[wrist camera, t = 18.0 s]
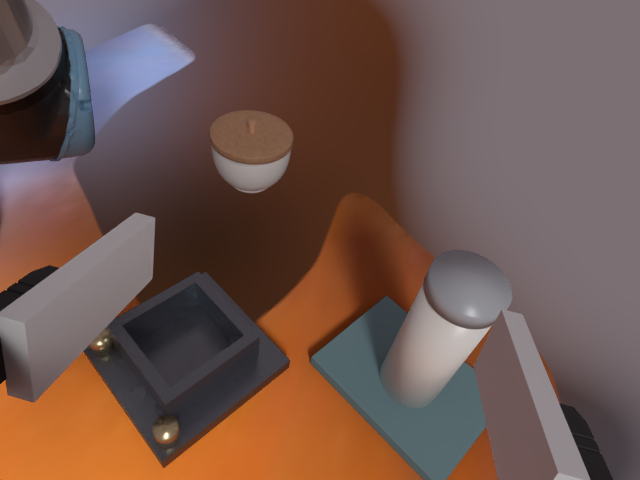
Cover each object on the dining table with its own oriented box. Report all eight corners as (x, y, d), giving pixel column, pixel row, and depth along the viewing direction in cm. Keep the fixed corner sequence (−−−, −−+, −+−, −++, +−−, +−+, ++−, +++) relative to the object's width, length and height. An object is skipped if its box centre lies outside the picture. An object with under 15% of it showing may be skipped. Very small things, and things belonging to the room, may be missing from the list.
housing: (83, 351, 44) (68, 321, 40) (206, 279, 51) (204, 247, 47) (163, 468, 38) (155, 445, 34) (288, 367, 46) (294, 339, 42)
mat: (309, 362, 46) (311, 356, 45) (384, 301, 53) (386, 295, 52) (435, 491, 40) (439, 487, 39) (502, 403, 46) (507, 398, 45)
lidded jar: (248, 146, 69) (250, 90, 62) (303, 179, 66) (311, 123, 59) (194, 177, 63) (190, 119, 56) (252, 216, 59) (255, 159, 52)
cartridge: (366, 375, 45) (413, 275, 33) (404, 339, 48) (459, 238, 37) (415, 422, 42) (484, 333, 31) (451, 381, 46) (526, 287, 34)
